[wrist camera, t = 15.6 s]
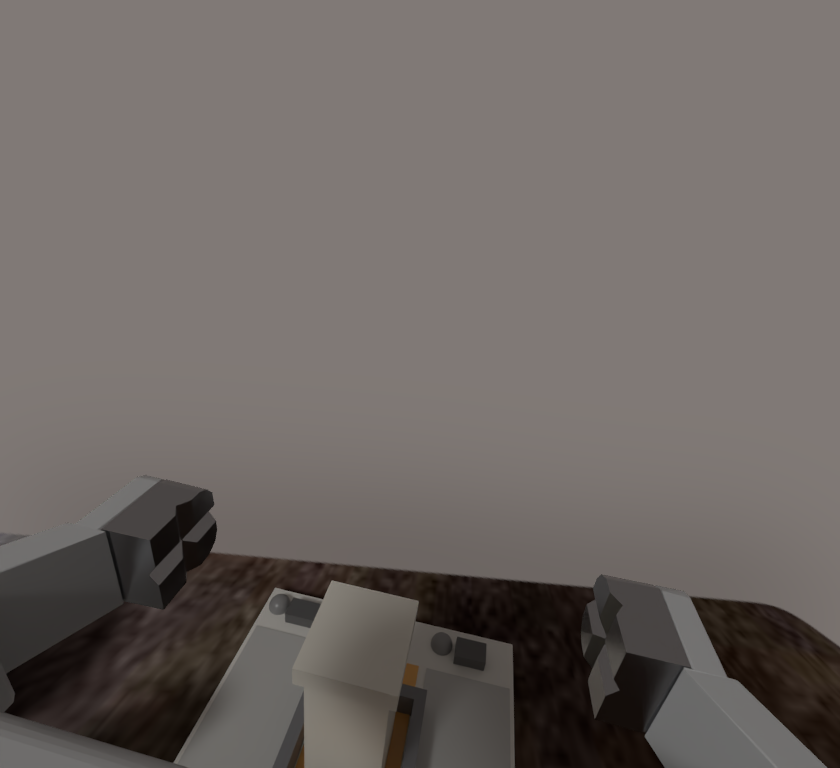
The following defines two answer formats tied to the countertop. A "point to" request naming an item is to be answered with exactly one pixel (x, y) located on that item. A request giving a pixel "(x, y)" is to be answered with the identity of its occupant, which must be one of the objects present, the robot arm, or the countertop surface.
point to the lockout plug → (353, 675)
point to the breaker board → (414, 719)
